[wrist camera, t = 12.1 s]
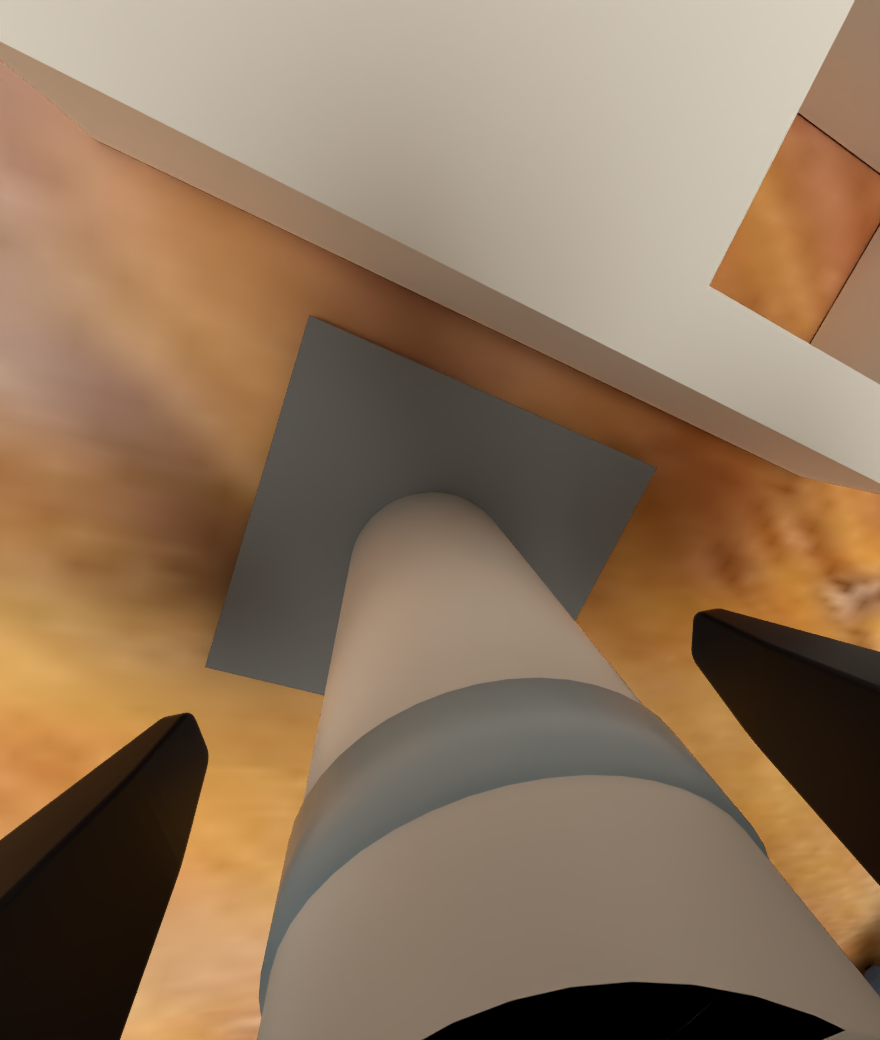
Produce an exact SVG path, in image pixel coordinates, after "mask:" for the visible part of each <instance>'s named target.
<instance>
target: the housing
mask: <svg viewBox="0 0 880 1040" xmlns="http://www.w3.org/2000/svg"><path fill="white" fill-rule="evenodd" d="M0 60H2V61H3V62H4V63H5V64H6V65H7V66H9V67H10V68H11V69H12V70H13V71H15V72H16V73H17V74H18V75H19V76H20V77H22V78H23V79H24V80H25V81H26V82H27V83H29V84H30V85H31V86H32V87H33V88H35V89H36V90H37V91H38V92H39V93H40V94H42V95H43V96H44V97H45V98H46V99H47V100H49V101H50V102H51V103H52V104H53V105H55V106H56V107H57V108H58V109H59V110H60V111H62V112H63V113H64V114H65V115H66V116H67V117H69V118H70V119H71V120H72V121H73V122H75V123H76V124H77V125H78V126H79V127H80V128H82V129H83V130H84V131H85V132H86V133H87V134H89V135H90V136H91V137H92V138H93V139H95V140H97V141H99V142H101V143H104V144H106V145H108V146H110V147H112V148H114V149H116V150H118V151H120V152H122V153H124V154H127V155H129V156H131V157H133V158H135V159H137V160H139V161H141V162H143V163H145V164H147V165H150V166H152V167H154V168H156V169H158V170H160V171H162V172H164V173H166V174H168V175H170V176H173V177H175V178H177V179H179V180H181V181H183V182H185V183H187V184H189V185H191V186H193V187H196V188H198V189H200V190H202V191H204V192H206V193H208V194H210V195H212V196H214V197H216V198H219V199H221V200H223V201H225V202H227V203H229V204H231V205H233V206H235V207H237V208H239V209H242V210H244V211H246V212H248V213H250V214H252V215H254V216H256V217H258V218H260V219H263V220H265V221H267V222H269V223H271V224H273V225H275V226H277V227H279V228H281V229H283V230H286V231H288V232H290V233H292V234H294V235H296V236H298V237H300V238H302V239H304V240H306V241H309V242H311V243H313V244H315V245H317V246H319V247H321V248H323V249H325V250H327V251H329V252H332V253H334V254H336V255H338V256H340V257H342V258H344V259H346V260H348V261H350V262H352V263H355V264H357V265H359V266H361V267H363V268H365V269H367V270H369V271H371V272H373V273H375V274H378V275H380V276H382V277H384V278H386V279H388V280H390V281H392V282H394V283H396V284H398V285H401V286H403V287H405V288H407V289H409V290H411V291H413V292H415V293H417V294H419V295H421V296H424V297H426V298H428V299H430V300H432V301H434V302H436V303H438V304H440V305H442V306H444V307H447V308H449V309H451V310H453V311H455V312H457V313H459V314H461V315H463V316H465V317H467V318H470V319H472V320H474V321H476V322H478V323H480V324H482V325H484V326H486V327H488V328H490V329H493V330H495V331H497V332H499V333H501V334H503V335H505V336H507V337H509V338H511V339H513V340H516V341H518V342H520V343H522V344H524V345H526V346H528V347H530V348H532V349H534V350H537V351H539V352H541V353H543V354H545V355H547V356H549V357H551V358H553V359H555V360H557V361H560V362H562V363H564V364H566V365H568V366H570V367H572V368H574V369H576V370H578V371H580V372H583V373H585V374H587V375H589V376H591V377H593V378H595V379H597V380H599V381H601V382H603V383H606V384H608V385H610V386H612V387H614V388H616V389H618V390H620V391H622V392H624V393H626V394H629V395H631V396H633V397H635V398H637V399H639V400H641V401H643V402H645V403H647V404H649V405H652V406H654V407H656V408H658V409H660V410H662V411H664V412H666V413H668V414H670V415H672V416H675V417H677V418H679V419H681V420H683V421H685V422H687V423H689V424H691V425H693V426H695V427H698V428H700V429H702V430H704V431H706V432H708V433H710V434H712V435H714V436H716V437H718V438H721V439H723V440H725V441H727V442H729V443H731V444H733V445H735V446H737V447H739V448H741V449H744V450H746V451H748V452H750V453H752V454H754V455H756V456H758V457H760V458H762V459H764V460H767V461H769V462H771V463H773V464H775V465H777V466H779V467H781V468H783V469H785V470H787V471H790V472H792V473H794V474H796V475H798V476H800V477H802V478H807V479H811V480H816V481H821V482H825V483H830V484H835V485H839V486H844V487H848V488H853V489H858V490H862V491H867V492H871V493H876V494H880V226H879V228H878V229H877V231H876V233H875V235H874V236H873V238H872V240H871V241H870V243H869V245H868V246H867V248H866V250H865V252H864V253H863V255H862V257H861V258H860V260H859V262H858V264H857V265H856V267H855V269H854V270H853V272H852V274H851V275H850V277H849V279H848V281H847V282H846V284H845V286H844V287H843V289H842V291H841V293H840V294H839V296H838V298H837V299H836V301H835V303H834V304H833V306H832V308H831V310H830V311H829V313H828V315H827V316H826V318H825V320H824V322H823V323H822V325H821V327H820V328H819V330H818V332H817V334H816V335H815V337H814V339H813V340H812V342H811V344H809V343H807V342H805V341H804V340H802V339H800V338H798V337H797V336H795V335H793V334H792V333H790V332H788V331H786V330H785V329H783V328H781V327H779V326H778V325H776V324H774V323H773V322H771V321H769V320H767V319H766V318H764V317H762V316H760V315H759V314H757V313H755V312H754V311H752V310H750V309H748V308H747V307H745V306H743V305H741V304H740V303H738V302H736V301H735V300H733V299H731V298H729V297H728V296H726V295H724V294H722V293H721V292H719V291H717V290H716V289H714V288H712V287H710V286H709V285H710V283H711V281H712V279H713V277H714V275H715V273H716V271H717V269H718V267H719V265H720V263H721V261H722V259H723V257H724V255H725V253H726V251H727V250H728V248H729V246H730V244H731V242H732V240H733V238H734V236H735V234H736V232H737V230H738V228H739V226H740V224H741V222H742V220H743V218H744V216H745V214H746V212H747V210H748V208H749V206H750V205H751V203H752V201H753V199H754V197H755V195H756V193H757V191H758V189H759V187H760V185H761V183H762V181H763V179H764V177H765V175H766V173H767V171H768V169H769V167H770V165H771V163H772V161H773V160H774V158H775V156H776V154H777V152H778V150H779V148H780V146H781V144H782V142H783V140H784V138H785V136H786V134H787V132H788V130H789V128H790V126H791V124H792V122H793V120H794V118H795V117H796V115H797V113H800V114H801V115H802V116H804V117H805V118H806V119H808V120H809V121H810V122H812V123H813V124H814V125H816V126H817V127H818V128H820V129H821V130H822V131H824V132H825V133H826V134H828V135H829V136H831V137H832V138H833V139H835V140H836V141H837V142H839V143H840V144H841V145H843V146H844V147H845V148H847V149H848V150H849V151H851V152H852V153H853V154H855V155H856V156H857V157H859V158H860V159H861V160H863V161H864V162H865V163H867V164H868V165H870V166H871V167H872V168H874V169H875V170H876V171H878V172H879V173H880V0H0Z"/></svg>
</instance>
